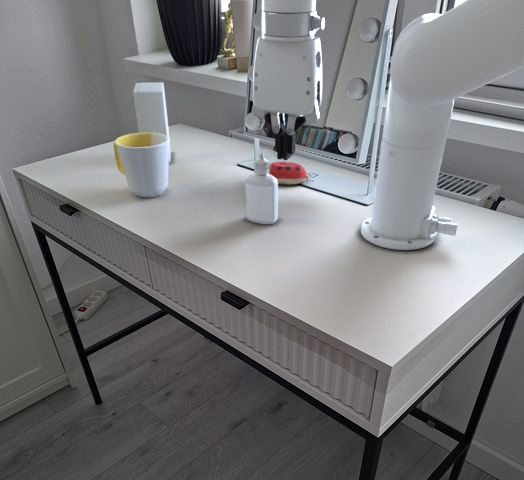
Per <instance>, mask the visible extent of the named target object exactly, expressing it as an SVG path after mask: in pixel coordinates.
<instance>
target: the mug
mask: <svg viewBox="0 0 524 480" xmlns="http://www.w3.org/2000/svg"><path fill="white" fill-rule="evenodd" d="M169 138H170V137H169ZM169 138H168V137H167V136H166V135H163V134H160V133H152V132H141V133H139V132H132V133H127V134H124V135H121V136H119V137H117V138H116V139H115V140H114V142H113V152H114V157H115V158H114V159H115V162H116V166H117V169H118V171H119V172H120V173H121V174H122V175H124V176H125V179H126V182H127V186H128V188H129V189H130V191H132V193H133V194H135V195H136V196H138V197H140V198H154V197H158V196H161V195H163V193H164V192H165V191H166V189H167V188H168V186H169V163H168V162H169Z"/></svg>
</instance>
